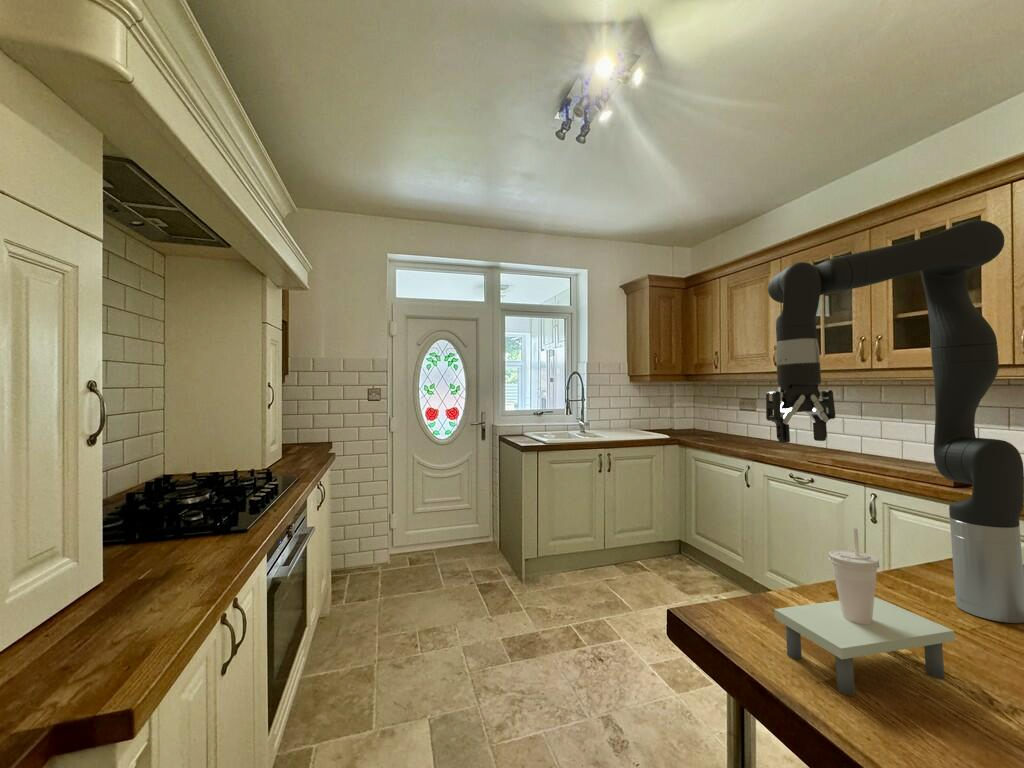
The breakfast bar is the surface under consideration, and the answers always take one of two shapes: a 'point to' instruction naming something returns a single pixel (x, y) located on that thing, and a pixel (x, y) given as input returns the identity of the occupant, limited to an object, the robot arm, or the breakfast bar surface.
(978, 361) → the robot arm
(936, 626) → the small table
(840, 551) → the smoothie
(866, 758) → the breakfast bar surface
